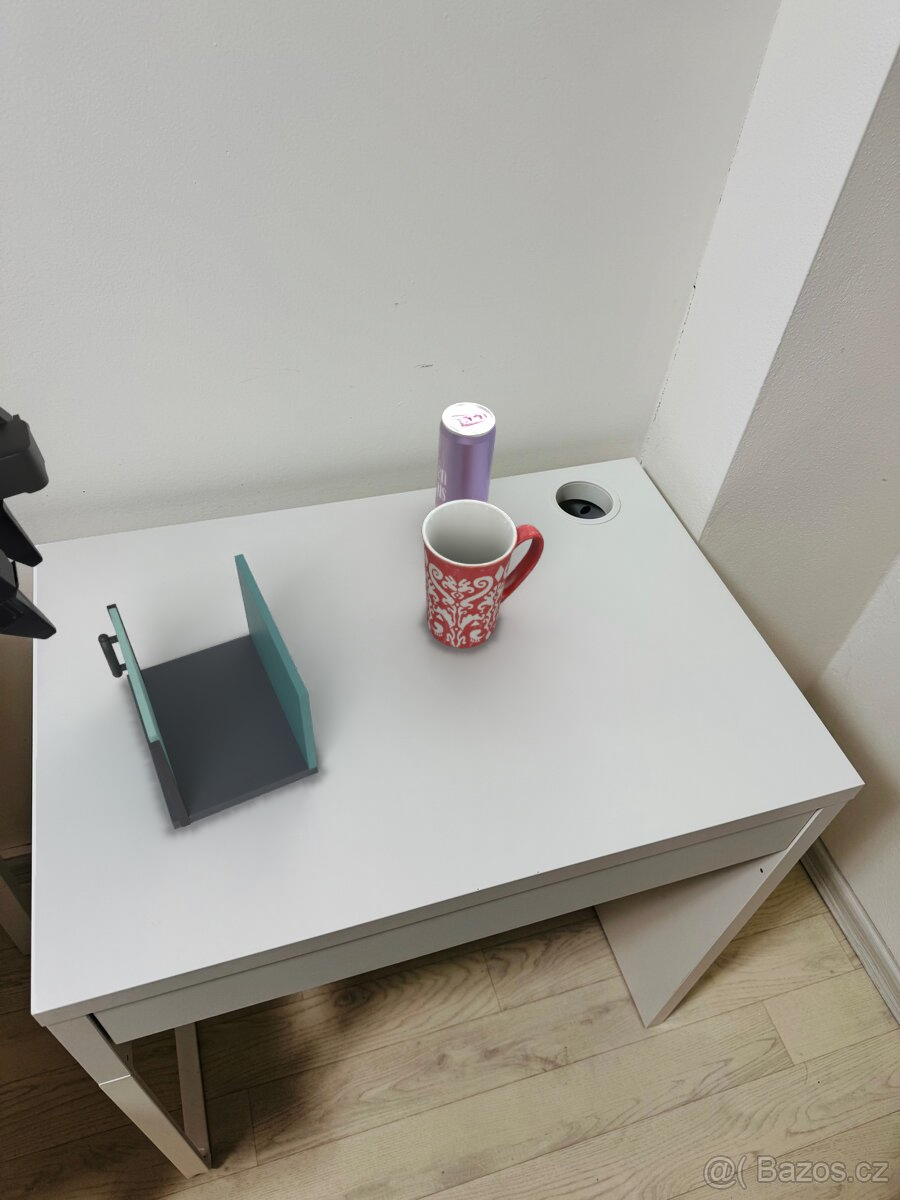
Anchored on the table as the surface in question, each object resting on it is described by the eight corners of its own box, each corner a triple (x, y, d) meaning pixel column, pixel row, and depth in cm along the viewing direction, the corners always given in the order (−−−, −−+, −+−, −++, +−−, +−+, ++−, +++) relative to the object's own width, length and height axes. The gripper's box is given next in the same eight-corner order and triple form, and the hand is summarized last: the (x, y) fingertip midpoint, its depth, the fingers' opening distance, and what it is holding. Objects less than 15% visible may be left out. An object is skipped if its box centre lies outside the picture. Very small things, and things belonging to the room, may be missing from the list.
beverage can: (492, 533, 98) (506, 429, 86) (445, 545, 96) (452, 440, 85) (473, 501, 101) (483, 396, 90) (427, 511, 100) (431, 406, 88)
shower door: (156, 813, 71) (126, 745, 63) (118, 686, 79) (87, 611, 71) (184, 803, 72) (157, 733, 64) (143, 678, 80) (115, 602, 72)
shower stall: (175, 830, 71) (142, 754, 62) (129, 682, 81) (95, 596, 72) (318, 773, 76) (308, 694, 66) (258, 638, 86) (242, 553, 76)
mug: (433, 665, 85) (440, 574, 74) (406, 601, 90) (409, 508, 80) (547, 637, 88) (568, 546, 78) (514, 576, 93) (530, 484, 83)
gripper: (-22, 459, 47) (154, 611, 59) (-37, 330, 60) (111, 477, 71) (-187, 572, 47) (22, 702, 58) (-167, 419, 59) (2, 551, 71)
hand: (44, 597), depth 65 cm, fingers open, 9 cm apart
